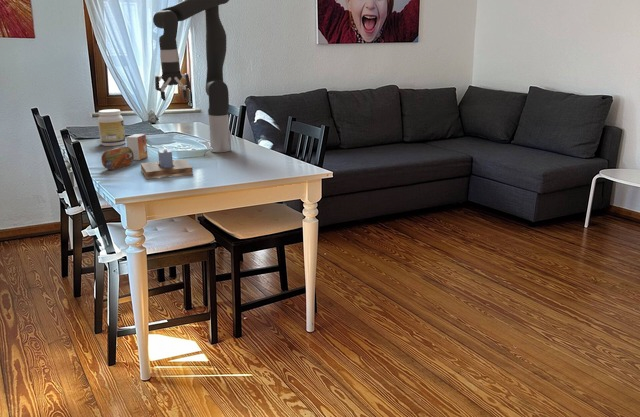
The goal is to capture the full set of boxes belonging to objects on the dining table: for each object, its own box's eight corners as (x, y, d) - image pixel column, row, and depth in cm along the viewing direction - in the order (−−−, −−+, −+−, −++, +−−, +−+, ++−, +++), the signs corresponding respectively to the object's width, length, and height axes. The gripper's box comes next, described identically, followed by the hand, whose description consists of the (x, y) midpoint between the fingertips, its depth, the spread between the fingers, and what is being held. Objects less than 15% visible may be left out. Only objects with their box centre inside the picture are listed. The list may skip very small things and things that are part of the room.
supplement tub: (129, 144, 296) (125, 110, 290) (104, 147, 289) (100, 113, 284) (121, 140, 305) (118, 107, 300) (97, 143, 299) (93, 110, 293)
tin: (106, 171, 243) (104, 151, 240) (101, 170, 245) (99, 150, 242) (135, 164, 255) (133, 145, 253) (130, 163, 257) (128, 144, 254)
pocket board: (184, 166, 251) (184, 159, 250) (192, 174, 237) (192, 167, 236) (141, 170, 244) (140, 163, 243) (147, 179, 230) (146, 172, 229)
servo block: (170, 167, 245) (168, 146, 243) (174, 172, 237) (172, 150, 235) (159, 168, 244) (157, 147, 241) (162, 173, 236) (160, 151, 233)
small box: (139, 160, 262) (137, 137, 258) (128, 160, 263) (125, 136, 259) (148, 156, 269) (146, 134, 266) (137, 156, 270) (134, 133, 267)
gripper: (184, 59, 253) (188, 97, 258) (151, 61, 247) (155, 100, 253) (188, 60, 247) (192, 99, 252) (154, 62, 241) (159, 102, 246)
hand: (174, 99), depth 252 cm, fingers open, 8 cm apart
